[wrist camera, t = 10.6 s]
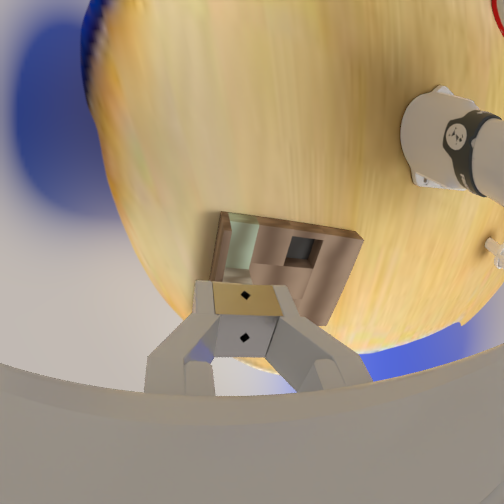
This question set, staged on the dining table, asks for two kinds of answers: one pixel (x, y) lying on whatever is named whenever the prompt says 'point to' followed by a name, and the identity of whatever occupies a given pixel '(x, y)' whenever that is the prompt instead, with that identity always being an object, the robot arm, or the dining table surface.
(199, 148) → the dining table surface
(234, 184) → the dining table surface
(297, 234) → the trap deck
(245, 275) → the cube
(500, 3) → the kitchen timer
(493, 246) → the clear glass tall piece
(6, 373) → the robot arm
